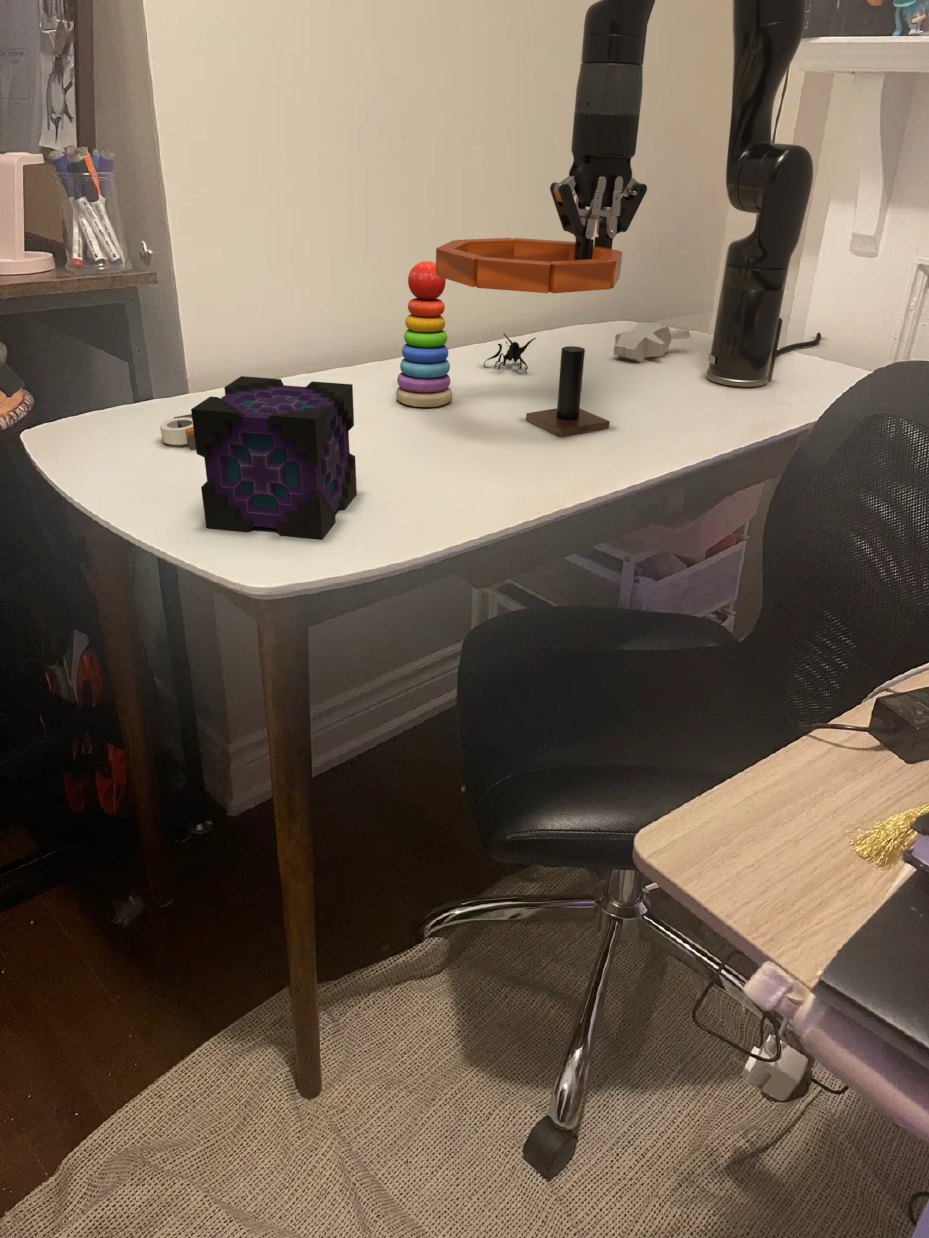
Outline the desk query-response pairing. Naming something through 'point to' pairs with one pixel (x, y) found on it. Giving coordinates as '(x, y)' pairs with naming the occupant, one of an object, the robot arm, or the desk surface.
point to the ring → (527, 265)
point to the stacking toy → (425, 342)
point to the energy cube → (276, 456)
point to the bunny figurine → (646, 341)
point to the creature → (511, 353)
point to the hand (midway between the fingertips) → (591, 269)
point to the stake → (569, 400)
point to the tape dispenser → (179, 431)
